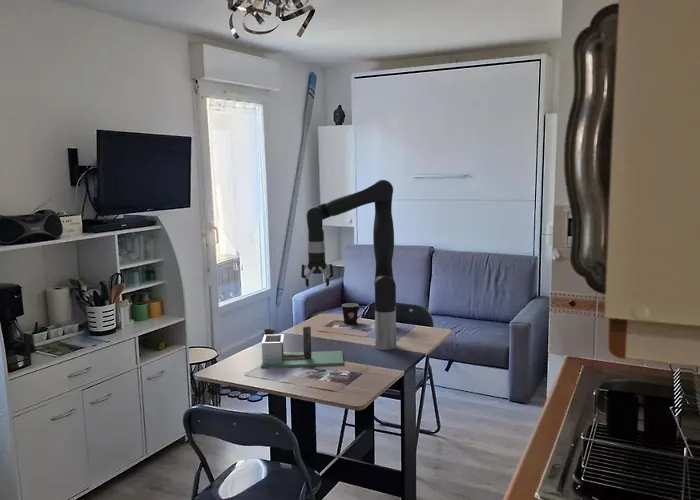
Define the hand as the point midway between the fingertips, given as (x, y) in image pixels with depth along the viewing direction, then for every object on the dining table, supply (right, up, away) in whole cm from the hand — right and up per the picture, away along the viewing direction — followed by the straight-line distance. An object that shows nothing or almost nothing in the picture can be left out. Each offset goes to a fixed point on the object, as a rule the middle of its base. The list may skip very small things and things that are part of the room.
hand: (317, 286), depth 261 cm
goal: (-18, -30, -15) cm, 38 cm away
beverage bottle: (+34, -23, +33) cm, 53 cm away
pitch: (-5, -30, -14) cm, 34 cm away
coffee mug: (+16, -22, +42) cm, 51 cm away
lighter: (-21, -29, +1) cm, 36 cm away
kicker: (-9, -29, -15) cm, 34 cm away
